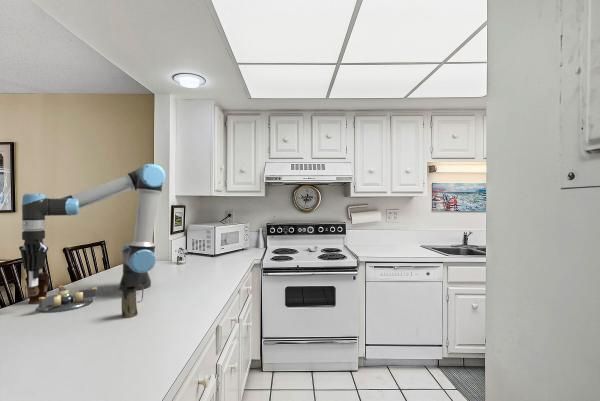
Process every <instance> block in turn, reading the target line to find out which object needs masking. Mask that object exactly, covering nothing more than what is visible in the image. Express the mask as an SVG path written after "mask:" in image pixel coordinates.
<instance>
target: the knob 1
mask: <svg viewBox="0 0 600 401" xmlns="http://www.w3.org/2000/svg"><path fill="white" fill-rule="evenodd" d="M48 305H51V307H56V306H60V305H61V295H59V294H56V293H55V294H52V295H48V296H47V295H46V297H40V298H39V303H38V306H39V307H45V306H48Z"/></svg>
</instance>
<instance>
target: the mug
mask: <svg viewBox="0 0 600 401" xmlns="http://www.w3.org/2000/svg"><path fill="white" fill-rule="evenodd" d="M137 286H142V289H141V290H142V291H141V292H142V293H141V300H140V301H137V290H136V288H137ZM137 286H136V287H135V286H131V287H125V288H123V290H121V316H122V318H124V319H130V318H134V317H137V316H138V306H137V305H138V304H137V303H142V301H143V298H144V289H143V285H137Z"/></svg>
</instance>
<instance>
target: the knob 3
mask: <svg viewBox="0 0 600 401" xmlns="http://www.w3.org/2000/svg"><path fill="white" fill-rule="evenodd" d="M97 291H98V288H97V287H95V286H94V287H92V288H87V289H79V290H78V291H75V292H74V296H75V302H81V301H84V298H88V297H93V298H96V297H97V296H98V294H97V293H98V292H97Z"/></svg>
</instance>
